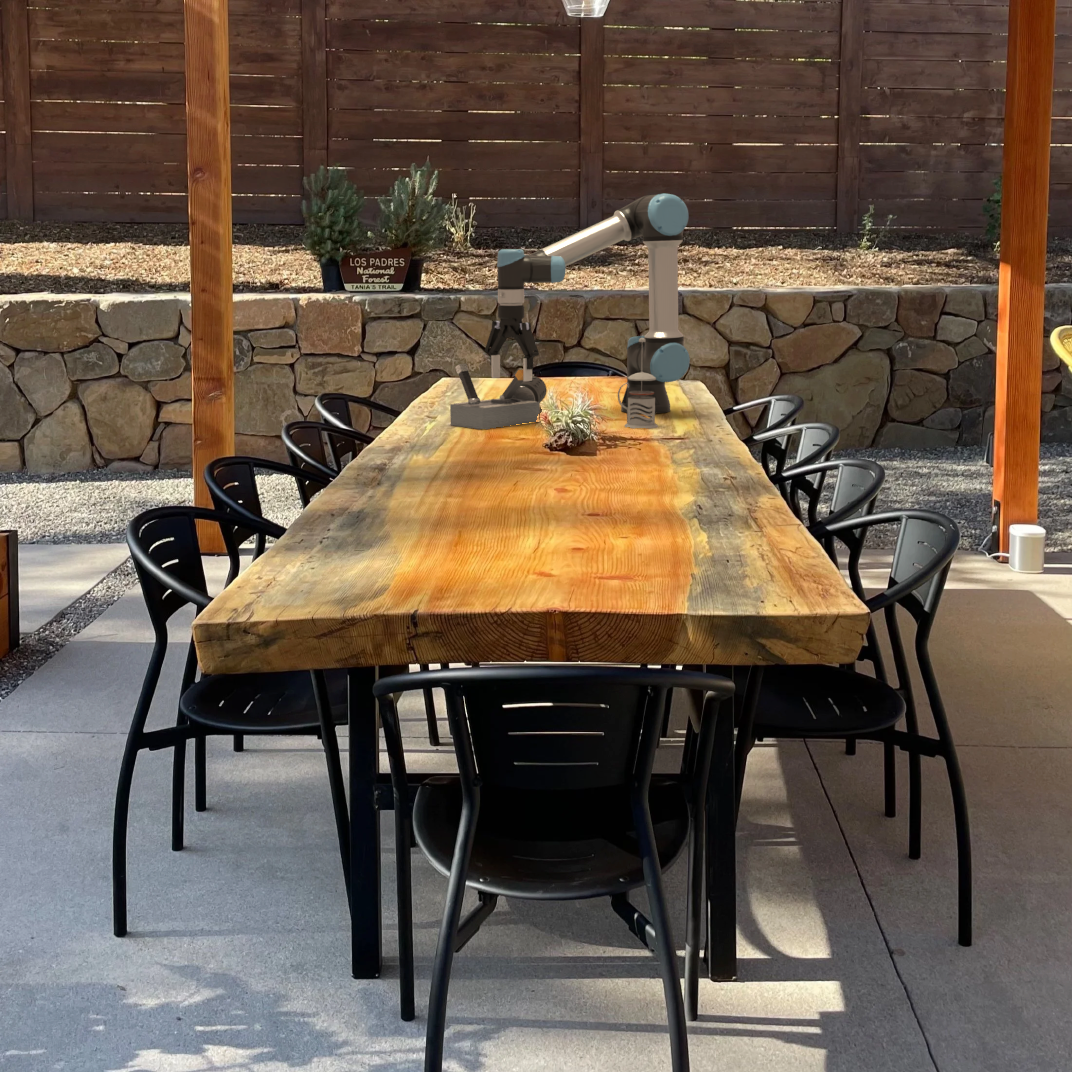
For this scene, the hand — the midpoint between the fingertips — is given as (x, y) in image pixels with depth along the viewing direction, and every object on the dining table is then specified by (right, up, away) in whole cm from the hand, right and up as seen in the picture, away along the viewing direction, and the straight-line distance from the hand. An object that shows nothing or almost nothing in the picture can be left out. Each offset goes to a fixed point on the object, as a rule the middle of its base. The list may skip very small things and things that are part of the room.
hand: (511, 379), depth 391 cm
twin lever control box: (-5, -13, +2) cm, 14 cm away
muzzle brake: (+4, -7, +27) cm, 29 cm away
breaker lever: (-2, -5, +3) cm, 6 cm away
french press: (+36, -14, -4) cm, 39 cm away
